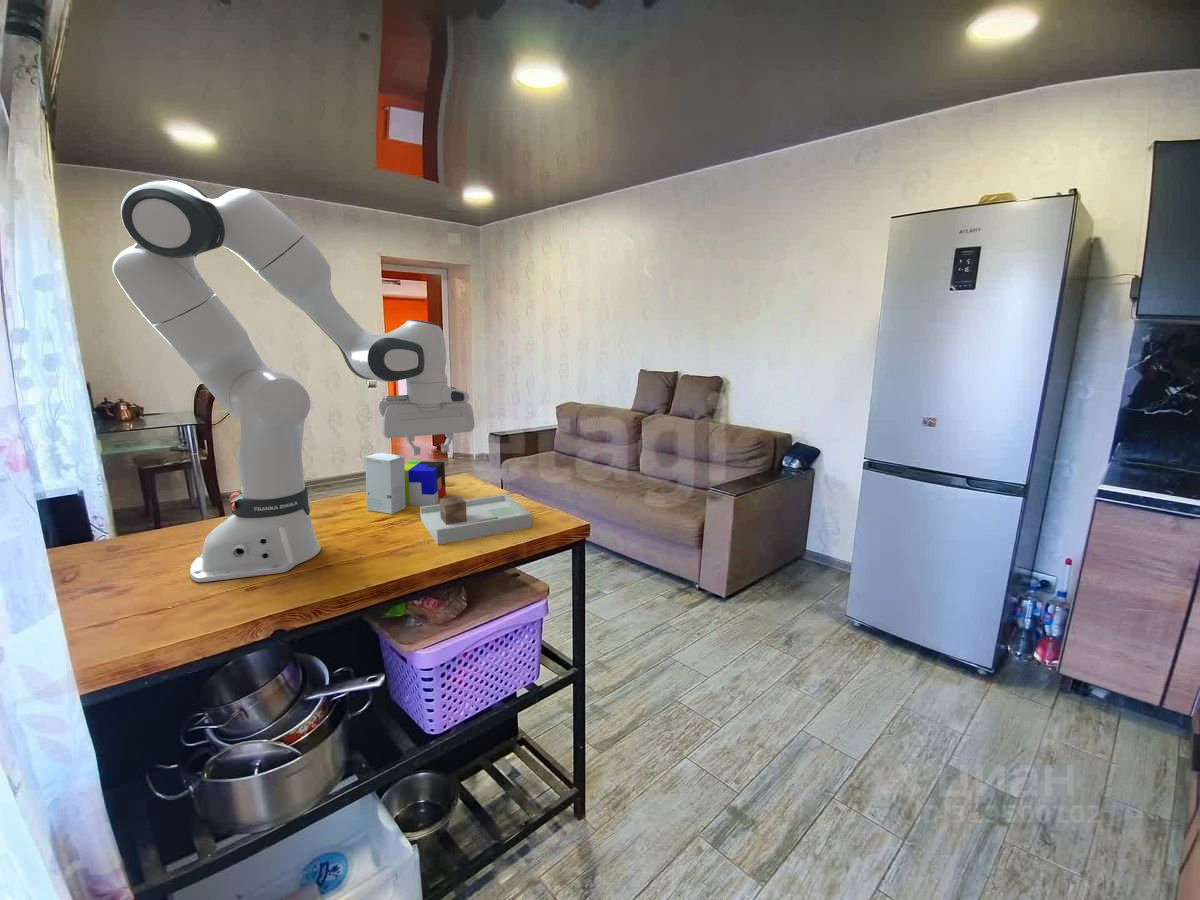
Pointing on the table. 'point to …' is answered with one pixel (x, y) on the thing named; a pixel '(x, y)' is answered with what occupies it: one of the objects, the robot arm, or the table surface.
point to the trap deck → (477, 519)
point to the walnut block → (453, 510)
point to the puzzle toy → (424, 483)
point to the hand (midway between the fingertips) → (431, 453)
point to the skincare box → (385, 482)
